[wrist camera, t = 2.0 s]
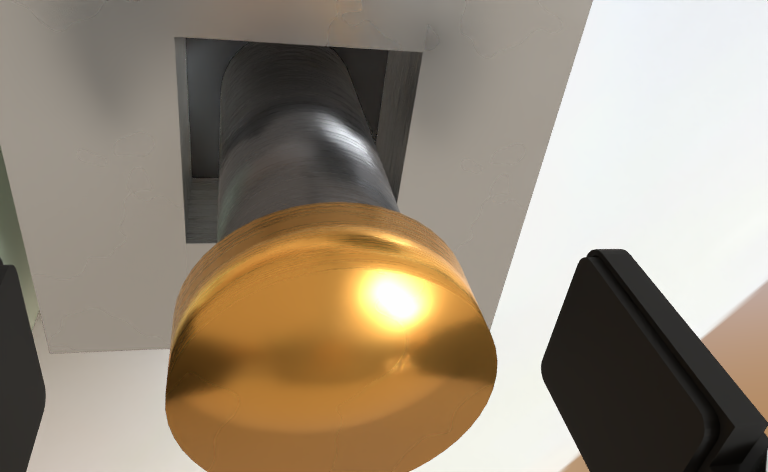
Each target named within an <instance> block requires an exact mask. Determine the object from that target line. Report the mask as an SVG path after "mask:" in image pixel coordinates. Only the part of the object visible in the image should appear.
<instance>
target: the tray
mask: <svg viewBox="0 0 768 472" xmlns="http://www.w3.org/2000/svg"><path fill="white" fill-rule="evenodd" d="M0 258H1V260H2V262H3V265H14V266H15V268H16V270H17V273H18V277H19V281H20V286H21V290H22V294H23V298H24V302H25V306H26V310H27V315H28V319H29V323H30V327H31V331H32V330H33V327H34V324H35V321H36V318H37V315H38V312H39V305H38V301H37V297H36V293H35V289H34V284H33V280H32V276H31V272H30V268H29V263H28V259H27V255H26V251H25V247H24V242H23V238H22V234H21V230H20V226H19V221H18V217H17V213H16V209H15V204H14V200H13V196H12V192H11V188H10V183H9V179H8V175H7V171H6V167H5V162H4V158H3V154H2V150H1V146H0Z"/></svg>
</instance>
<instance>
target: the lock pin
mask: <svg viewBox="0 0 768 472" xmlns="http://www.w3.org/2000/svg"><path fill="white" fill-rule="evenodd" d="M496 374H497V355H496V348H495V345H494V342H493V339H492V336H491V333H490V331H489V329H488V326H487V324H486V322H485V320H484V317H483V315H482V313H481V311H480V308H479V306H478V304H477V302H476V299H475V297H474V295H473V293H472V290H471V288H470V286H469V284H468V281H467V279H466V277H465V275H464V273H463V270H462V268H461V266H460V264H459V262H458V260H457V259H456V257H455V255H454V253H453V252H452V251H451V249H450V248H449V247H448V246H447V244H446V243H445V242H444V241H443V240H442V239H441V238H440V237H439V236H438V235H436V234H435V233H434V232H433V231H432V230H431V229H429V228H427V227H426V226H424V225H423V224H421V223H420V222H418V221H417V220H414V219H412V218H410V217H408V216H406V215H404V214H401V213H400V211H399V208H398V206H397V203H396V200H395V197H394V195H393V192H392V189H391V187H390V184H389V181H388V178H387V176H386V173H385V170H384V168H383V165H382V162H381V159H380V157H379V154H378V151H377V148H376V146H375V143H374V140H373V138H372V135H371V132H370V129H369V127H368V124H367V121H366V118H365V116H364V113H363V110H362V108H361V105H360V102H359V99H358V97H357V94H356V91H355V89H354V86H353V83H352V80H351V78H350V75H349V72H348V70H347V68H346V66H345V64H344V62H343V61H342V60H341V58H340V57H339V56H338V54H337V53H336V52H335V51H334V50H333V49H331V48H330V47H329V46H315V45H299V44H283V43H267V42H250V43H248V44H247V45H246V46H244V47H243V48H242V49H241V50H240V51H239V52H238V53H237V54H236V55H235V56H234V57H233V58H232V60H231V61H230V63H229V65H228V66H227V68H226V70H225V73H224V76H223V80H222V84H221V104H220V143H219V182H218V220H217V243H216V244H215V245H214V246H213V247H212V248H211V249H210V250H209V251H208V252H207V253H205V254H204V255H203V256H202V258H201V259H200V260H199V261H198V262H197V264H196V265H195V266H194V267H193V269H192V270H191V271H190V273H189V275H188V276H187V278H186V280H185V281H184V283H183V285H182V287H181V290H180V292H179V295H178V297H177V300H176V305H175V310H174V315H173V325H172V335H171V345H170V355H169V365H168V375H167V385H166V403H165V410H166V415H167V420H168V425H169V427H170V429H171V432H172V434H173V436H174V438H175V440H176V441H177V443H178V444H179V446H180V447H181V449H182V450H183V451H184V452H185V453H186V454H187V455H188V456H189V457H190V458H191V459H192V460H193V461H194V462H195V463H196V464H198V465H199V466H200V467H202V468H203V469H204V470H206V471H207V472H409V471H411V470H413V469H415V468H417V467H419V466H421V465H423V464H424V463H426V462H428V461H430V460H431V459H433V458H434V457H436V456H437V455H439V454H440V453H442V452H443V451H445V450H446V449H447V448H448V447H450V446H451V445H452V444H453V443H455V442H456V441H457V440H458V439H459V438H460V437H461V436H462V435H463V434H464V433H465V432H466V431H467V430H468V429H469V428H470V427H471V426H472V424H473V423H474V422H475V421H476V419H477V418H478V417H479V416H480V414H481V412H482V411H483V409H484V407H485V406H486V404H487V402H488V400H489V397H490V395H491V393H492V390H493V387H494V383H495V379H496Z"/></svg>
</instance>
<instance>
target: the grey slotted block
mask: <svg viewBox="0 0 768 472" xmlns="http://www.w3.org/2000/svg"><path fill="white" fill-rule="evenodd" d="M592 2H593V0H0V146H1V150H2V154H3V158H4V162H5V167H6V171H7V175H8V179H9V183H10V188H11V192H12V196H13V200H14V204H15V209H16V213H17V217H18V221H19V226H20V230H21V234H22V238H23V242H24V247H25V251H26V255H27V259H28V263H29V268H30V272H31V276H32V280H33V284H34V289H35V293H36V297H37V301H38V305H39V310H40V314H41V318H42V322H43V326H44V331H45V335H46V339H47V343H48V348H49V352H50V353H75V352H99V351H123V350H147V349H170V345H171V335H172V325H173V315H174V310H175V305H176V300H177V297H178V295H179V292H180V290H181V287H182V285H183V283H184V281H185V280H186V278H187V276H188V275H189V273H190V271H191V270H192V269H193V267H194V266H195V265H196V264H197V262H198V261H199V260H200V259H201V258H202V256H203V255H204V254H205V253H207V252H208V251H209V250H210V249H211V248H212V247H213V246H214V245H215V244H216V243H217V220H218V182H219V178H192V167H191V146H190V125H189V103H188V82H187V60H186V39H185V37H187V38H203V39H219V40H235V41H251V42H267V43H283V44H299V45H315V46H331V47H347V48H363V49H379V50H389V52H388V59H387V66H386V73H385V81H384V88H383V95H382V102H381V109H380V116H379V124H378V131H377V138H376V145H375V146H376V148H377V151H378V154H379V157H380V159H381V162H382V165H383V168H384V170H385V173H386V176H387V178H388V181H389V184H390V187H391V189H392V192H393V195H394V197H395V200H396V203H397V206H398V208H399V211H400V213H401V214H404V215H406V216H408V217H410V218H412V219H414V220H417V221H418V222H420V223H421V224H423V225H424V226H426V227H427V228H429V229H431V230H432V231H433V232H434V233H435V234H436V235H438V236H439V237H440V238H441V239H442V240H443V241H444V242H445V243H446V244H447V246H448V247H449V248H450V249H451V251H452V252H453V253H454V255H455V257H456V259H457V260H458V262H459V264H460V266H461V268H462V270H463V273H464V275H465V277H466V279H467V281H468V284H469V286H470V288H471V290H472V293H473V295H474V297H475V299H476V302H477V304H478V306H479V308H480V311H481V313H482V315H483V317H484V320H485V322H486V324H487V326H488V329H489V331H490V328H491V325H492V322H493V319H494V316H495V312H496V309H497V306H498V303H499V299H500V296H501V293H502V290H503V287H504V283H505V280H506V277H507V274H508V271H509V267H510V264H511V261H512V258H513V255H514V251H515V248H516V245H517V242H518V239H519V235H520V232H521V229H522V226H523V223H524V219H525V216H526V213H527V210H528V207H529V203H530V200H531V197H532V194H533V191H534V187H535V184H536V181H537V178H538V175H539V171H540V168H541V165H542V162H543V159H544V155H545V152H546V149H547V146H548V143H549V139H550V136H551V133H552V130H553V127H554V123H555V120H556V117H557V114H558V111H559V107H560V104H561V101H562V98H563V95H564V91H565V88H566V85H567V82H568V78H569V75H570V72H571V69H572V66H573V62H574V59H575V56H576V53H577V50H578V46H579V43H580V40H581V37H582V34H583V30H584V27H585V24H586V21H587V18H588V14H589V11H590V8H591V5H592Z"/></svg>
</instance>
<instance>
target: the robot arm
mask: <svg viewBox="0 0 768 472" xmlns="http://www.w3.org/2000/svg"><path fill="white" fill-rule="evenodd" d="M541 373H542V377H543V380H544V383H545V385H546V386H547V388H548V390H549V392H550V394H551V396H552V398H553V400H554V402H555V404H556V406H557V408H558V410H559V412H560V414H561V416H562V418H563V420H564V422H565V424H566V426H567V428H568V430H569V432H570V434H571V436H572V437H573V439H574V441H575V443H576V445H577V447H578V449H579V451H580V453H581V455H582V457H583V459H584V461H585V463H586V464H587V467H588V469H589V471H590V472H768V437H767V436H766V434H765V433H764V431H765V429H766V427H767V426H768V422H767V421H766V420H765V418H764V417H763V416H762V415H761V414H760V412H759V411H758V410H757V409H756V408H755V406H754V405H753V404H752V403H751V401H750V400H749V399H748V398H747V397H746V395H745V394H744V393H743V392H742V390H741V389H740V388H739V387H738V386H737V384H736V383H735V382H734V381H733V379H732V378H731V377H730V376H729V375H728V373H727V372H726V371H725V370H724V368H723V367H722V366H721V365H720V364H719V362H718V361H717V360H716V359H715V358H714V356H713V355H712V354H711V353H710V351H709V350H708V349H707V348H706V347H705V345H704V344H703V343H702V342H701V340H700V339H699V338H698V337H697V336H696V334H695V333H694V332H693V331H692V329H691V328H690V327H689V326H688V325H687V323H686V322H685V321H684V320H683V318H682V317H681V316H680V315H679V314H678V312H677V311H676V310H675V309H674V307H673V306H672V305H671V304H670V303H669V301H668V300H667V299H666V298H665V296H664V295H663V294H662V293H661V292H660V290H659V289H658V288H657V287H656V286H655V284H654V283H653V282H652V281H651V279H650V278H649V277H648V276H647V275H646V273H645V272H644V271H643V270H642V268H641V267H640V266H639V265H638V264H637V262H636V261H635V260H634V259H633V257H632V256H631V255H630V254H629V253H628V252H627V251H626V250H623V249H595V250H591V251H590V252H589V253H588V255H587V257H585V258H582V259H581V260H580V261H579V263H578V265H577V268H576V271H575V273H574V276H573V279H572V281H571V284H570V287H569V289H568V292H567V295H566V298H565V300H564V303H563V306H562V308H561V311H560V314H559V316H558V319H557V322H556V324H555V327H554V330H553V333H552V335H551V338H550V341H549V343H548V346H547V349H546V351H545V354H544V357H543V360H542V363H541ZM45 398H46V393H45V385H44V381H43V377H42V372H41V368H40V364H39V360H38V356H37V352H36V348H35V344H34V339H33V335H32V331H31V327H30V323H29V319H28V315H27V310H26V306H25V302H24V298H23V294H22V290H21V286H20V281H19V277H18V273H17V270H16V268H15V266H14V265H3V262H2V260H1V258H0V472H26V470H27V467H28V463H29V460H30V456H31V453H32V450H33V446H34V443H35V439H36V436H37V432H38V429H39V426H40V422H41V419H42V415H43V412H44V407H45Z"/></svg>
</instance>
